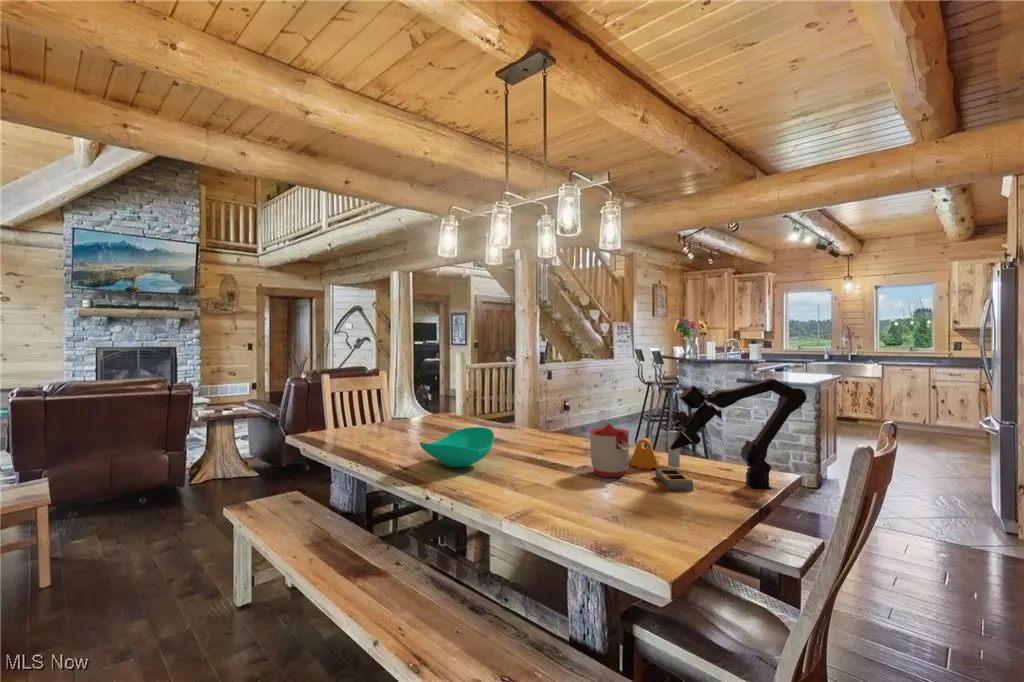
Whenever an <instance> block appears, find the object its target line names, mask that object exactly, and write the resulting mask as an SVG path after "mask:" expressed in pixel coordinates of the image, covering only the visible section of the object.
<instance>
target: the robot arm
mask: <svg viewBox="0 0 1024 682" xmlns="http://www.w3.org/2000/svg"><path fill="white" fill-rule="evenodd" d="M770 391H771V392H773V393H774V394H777V395H778V396H779V397H778V401H777V407H775V409H774V411H773V413H772V414H771V415H770V417H769V418H768V420H767V421H766V422H765V424H764V426H763V427H762V429H761V430H760V432H759V433H758V434H757V436H756V438H754V439H753V440H748V439H747V440H746V441H745V443H744V444H743V446H742V447H741V448H740V450H741V451H740V458H741V459H742V461H743V462H744V463H745V464H746V466H747V468H746V469H747V472H745V485H747V486H748V485H749V486H748V487H750V488H751V489H754V490H755V489H756V490H761V489H762V490H763V489H764V490H771V489H773V488H772V486H770V472H771V470H772V465H770V464H769V463H768V461H767V462H766V461H765V460H766V457H767V455H768V448H769V447H770V444H771V443H772V442H773V440H774V439H775V438H776V435H777V434H778V433H779V431H780V429H781V428H782V427H783V425H784V424H785V422H786V421H787V419H788V418H789V416H790V415H791V414H792V413H794V412H795V411H796V410H798V409H799V408H801V406H803V404H805V402H806V401H807V397H808V396H807V395H806V394H807V393H806V392H805V391H804V390H803V389H801V388H798V387H793V386H789V385H787V384H785V383H783V382H780V381H778V380H777V379H774V378H765V379H764V380H760V381H757V382H754V383H750V384H747V385H742V386H740V387H737V388H729V389H718V390H713V391H712V392H711V393H708V394H703V393H702V392H701V391H699V389H698V388H697V387H696V386H694V385H692V386H691V387H689V388H687V389H686V390H684V391H683V392H682V393H680V396H679V399H680V400H681V401H682V402H683V403H684V404H685V405H687V406H688V407H689V408H690V409H691V410H692V409H695V411H694V412H693V413H689V414H687V412H685V411H683V410H680V411H679V410H676V409H673V410H672V412H671V414H670V418H671V419H673V420H675V421H674V422H672V424H673V425H674V426H673V429H674V431H678V432H679V436H678V438H677V439H676V440H675V442H674V443H673V444H672V446H671V447H670V449H671V450H674V449H677V448H679V449H680V448H682V447H685V446H688V445H693V444H694V445H697V446H698V444H699V443H701V436H699V432H700V431H701V430H702V429H705V428H706V427H707V426H706V425H707V424H708V423H709V422H710V421H711V420H712V419H713V418H715V416H716V417H717V418H719V419H722V418H723V417H722V410H720V409H725V408H728V407H730V406H731V405H733V404H735V403H737V402H738V401H741V400H743V399H746V398H749V397H750V398H751V397H754V396H757V395H760V394H764V393H767V392H770ZM706 402H707V403H710V404H707V403H706ZM716 407H718V408H720V409H717V408H716Z"/></svg>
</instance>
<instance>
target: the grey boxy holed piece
mask: <svg viewBox="0 0 1024 682" xmlns="http://www.w3.org/2000/svg"><path fill="white" fill-rule="evenodd" d="M654 470H655V471H654V472H655V476H656V477H657V478H658V479H659V480H660V481H659V480H658V479H657V478H656V479H657V480H658V481H659V482H660V483H661V484H662V485H663V487H664V486H665V487H666V488H667V489H666V488H665V487H664V488H665V489H666V490H667V491H686V490H693V491H694V481H693V480H692V478H690V477H689V476H688V475H687V474H685V473H684V472H682V470H680V469H679V468H655V469H654ZM655 476H654V477H655Z"/></svg>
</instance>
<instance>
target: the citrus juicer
mask: <svg viewBox="0 0 1024 682" xmlns="http://www.w3.org/2000/svg"><path fill="white" fill-rule="evenodd" d="M588 431H589V441H590V442H589V444H590V445H589V448H590V460H591V465H592V469H593V471H594V473H595V475H597V476H600V477H603V478H607V477H612V478H619V477H623V476H625V474H626V471H627V469H628V465H629V461H630V460H629V458H630V436H629V435H630V431H629V430H626V429H622V428H615V427H614V426H613V425H612V424H611V423H608V424H607V425H605V426H604V427H602V428H601V427H599V428H593V429H590V430H588Z"/></svg>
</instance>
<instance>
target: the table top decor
mask: <svg viewBox="0 0 1024 682" xmlns="http://www.w3.org/2000/svg"><path fill="white" fill-rule="evenodd" d="M494 441H495V433H494V431H493V430H492V429H491V428H488V427H481V426H479V427H478V426H477V427H476V426H475V427H474V426H473V427H472V426H470V427H465V428H462V429H457V430H456V431H453V432H451V433H449V434H446V436H444V437H443V438H441V439H438V440H436V441H433V442H430V443H426V442H422V441H420V442H419V445H420V447H421V449H422V450H423V451H424V452H426V453H427V454H428V455H429V456H431V457H433V458H434V459H436V460H437V461H439V462H440V463H442V464H444V465H445V466H447V467H448V466H449V467H448V468H452V467H462V468H464V467H463V466H466V467H468V466H471V465H474V464H476V463H478V462H480V461H481V460H482V459H484V458H485V457H486V456H487V455H488V454H489V453H490V451H491V449H492V447H493V444H494Z"/></svg>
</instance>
